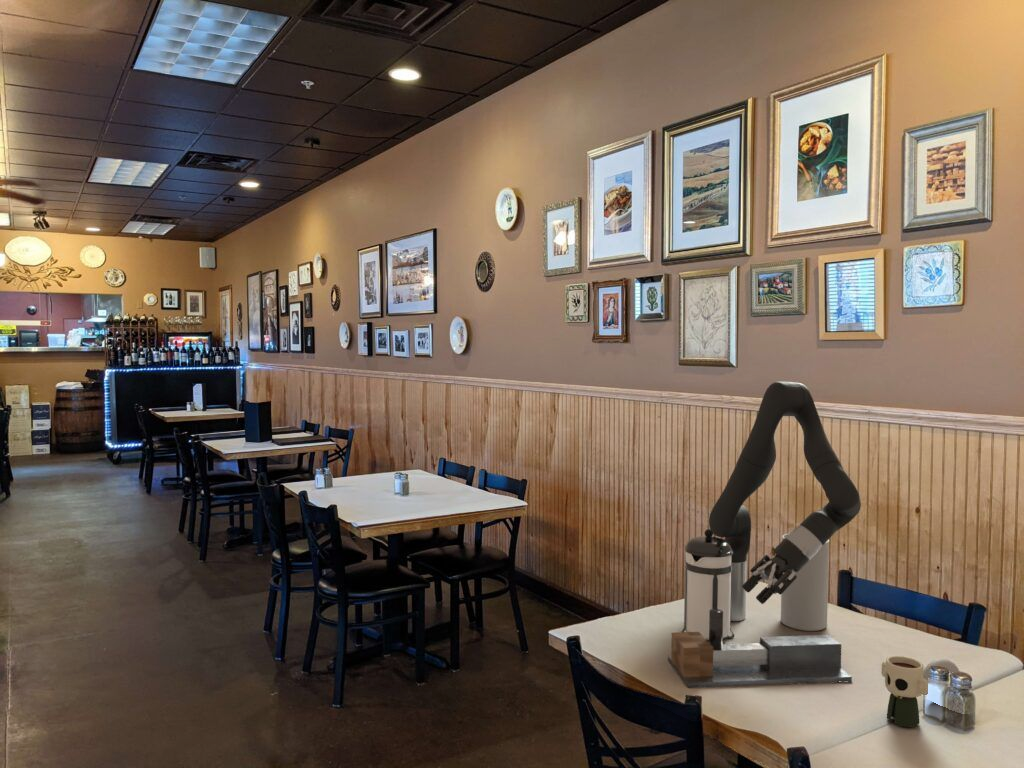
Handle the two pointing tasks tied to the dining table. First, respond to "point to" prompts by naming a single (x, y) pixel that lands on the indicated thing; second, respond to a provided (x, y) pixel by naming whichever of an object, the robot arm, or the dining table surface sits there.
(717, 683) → the grey base with blocks
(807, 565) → the cylinder vase
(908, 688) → the character mug
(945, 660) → the donut
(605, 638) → the dining table surface
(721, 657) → the slider
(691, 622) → the coffee press
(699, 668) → the brown wooden block
